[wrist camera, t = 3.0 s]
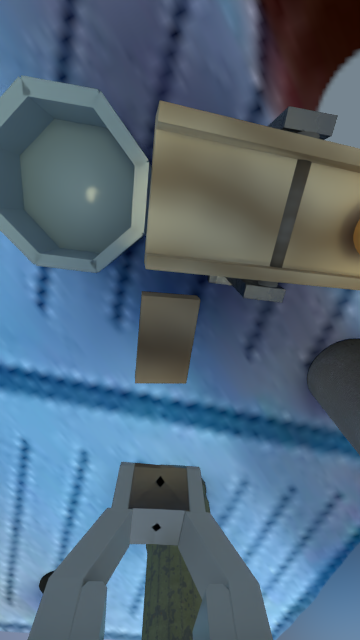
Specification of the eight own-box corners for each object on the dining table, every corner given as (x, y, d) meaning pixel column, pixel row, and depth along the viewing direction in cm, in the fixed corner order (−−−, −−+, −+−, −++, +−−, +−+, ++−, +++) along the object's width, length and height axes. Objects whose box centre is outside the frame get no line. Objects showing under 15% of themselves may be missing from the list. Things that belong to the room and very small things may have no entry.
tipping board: (156, 104, 14) (162, 75, 11) (412, 165, 18) (467, 156, 15) (135, 374, 20) (135, 400, 17) (325, 376, 24) (352, 398, 21)
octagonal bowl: (8, 99, 20) (-40, 64, 16) (157, 125, 21) (154, 99, 17) (23, 251, 25) (-12, 259, 20) (145, 267, 26) (140, 278, 21)
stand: (233, 131, 22) (267, 86, 14) (300, 143, 22) (366, 105, 15) (207, 280, 26) (222, 304, 19) (262, 287, 27) (297, 313, 19)
